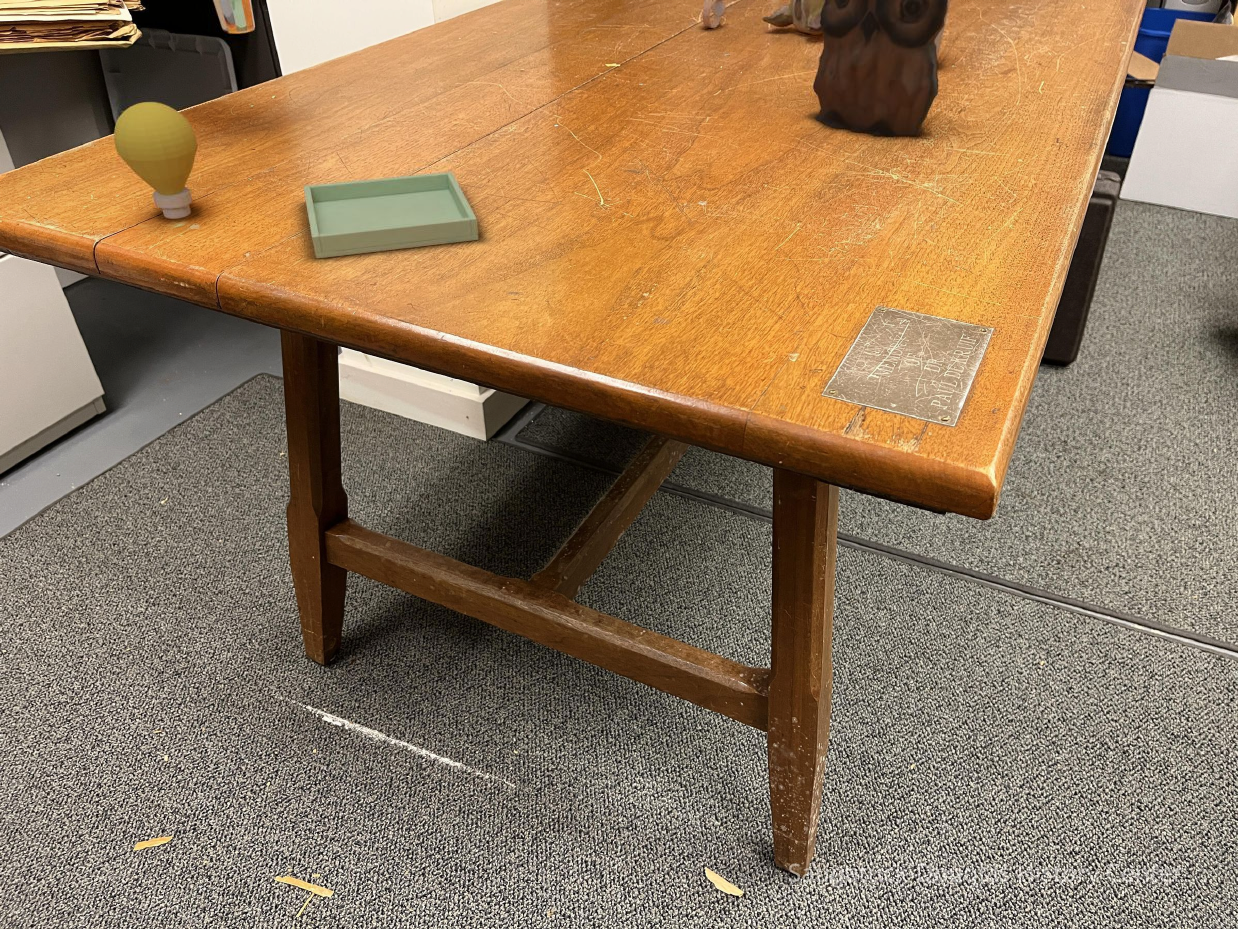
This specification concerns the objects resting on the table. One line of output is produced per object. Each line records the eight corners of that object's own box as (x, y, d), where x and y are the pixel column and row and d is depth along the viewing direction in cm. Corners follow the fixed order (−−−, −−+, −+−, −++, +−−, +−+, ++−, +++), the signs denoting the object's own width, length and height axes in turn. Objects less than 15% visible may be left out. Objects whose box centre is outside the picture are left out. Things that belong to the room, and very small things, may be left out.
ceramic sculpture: (874, -29, 144) (816, -12, 136) (866, 29, 149) (810, 49, 142) (821, -38, 150) (761, -22, 142) (815, 18, 155) (758, 37, 148)
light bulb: (122, 220, 83) (85, 108, 77) (175, 195, 88) (144, 88, 82) (179, 232, 81) (146, 119, 75) (230, 206, 86) (203, 98, 80)
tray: (316, 258, 78) (311, 236, 77) (307, 205, 87) (303, 185, 86) (478, 239, 82) (477, 218, 80) (453, 191, 91) (451, 171, 89)
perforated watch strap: (724, 25, 151) (727, -8, 148) (711, 31, 147) (714, -3, 144) (710, 23, 152) (712, -10, 149) (697, 28, 148) (699, -5, 145)
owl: (931, 138, 107) (976, -55, 94) (828, 141, 105) (860, -55, 93) (892, 106, 116) (927, -73, 104) (797, 108, 115) (822, -73, 103)
